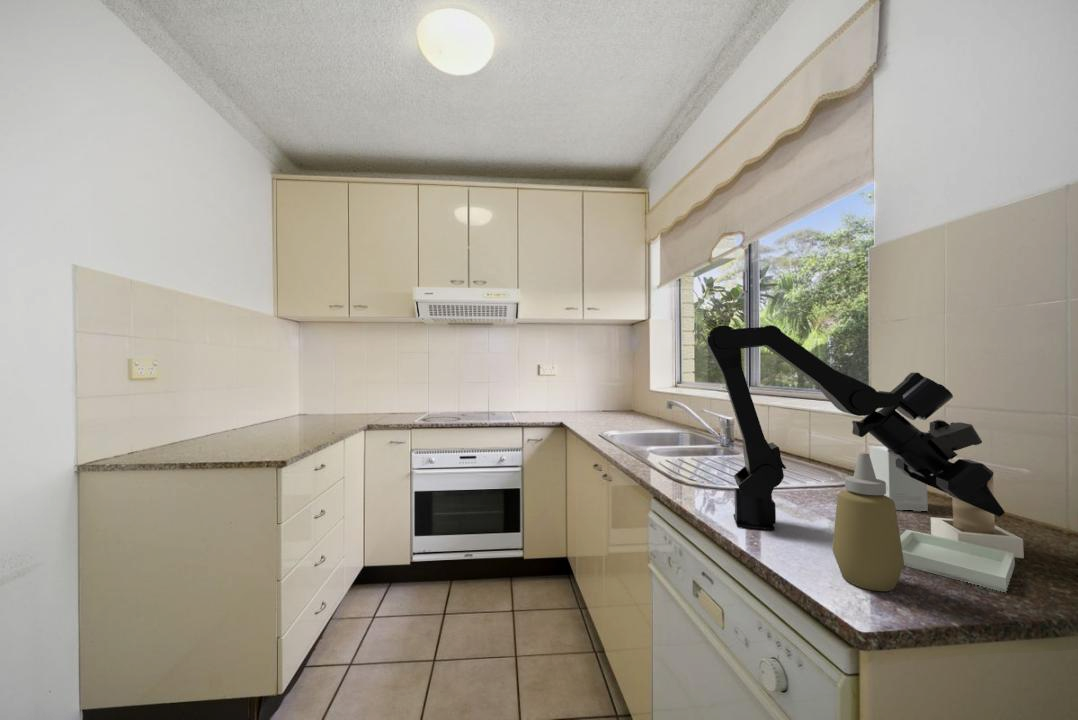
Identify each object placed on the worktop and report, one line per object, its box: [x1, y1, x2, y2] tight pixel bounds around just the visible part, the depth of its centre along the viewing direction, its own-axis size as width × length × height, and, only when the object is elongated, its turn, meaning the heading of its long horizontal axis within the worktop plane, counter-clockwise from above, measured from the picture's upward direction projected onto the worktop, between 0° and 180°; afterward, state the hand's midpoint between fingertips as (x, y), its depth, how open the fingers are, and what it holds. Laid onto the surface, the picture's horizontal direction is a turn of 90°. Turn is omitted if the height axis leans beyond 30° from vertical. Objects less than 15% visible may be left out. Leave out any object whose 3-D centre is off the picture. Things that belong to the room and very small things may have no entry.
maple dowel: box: [951, 468, 996, 535], centre depth 73 cm, size 5×5×13 cm
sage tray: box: [900, 529, 1016, 594], centre depth 66 cm, size 13×13×2 cm
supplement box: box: [869, 445, 929, 512], centre depth 95 cm, size 7×7×13 cm
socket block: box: [930, 516, 1025, 559], centre depth 73 cm, size 8×8×3 cm
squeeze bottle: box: [832, 452, 905, 592], centre depth 61 cm, size 8×8×18 cm
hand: (982, 506), depth 73 cm, fingers open, 9 cm apart
